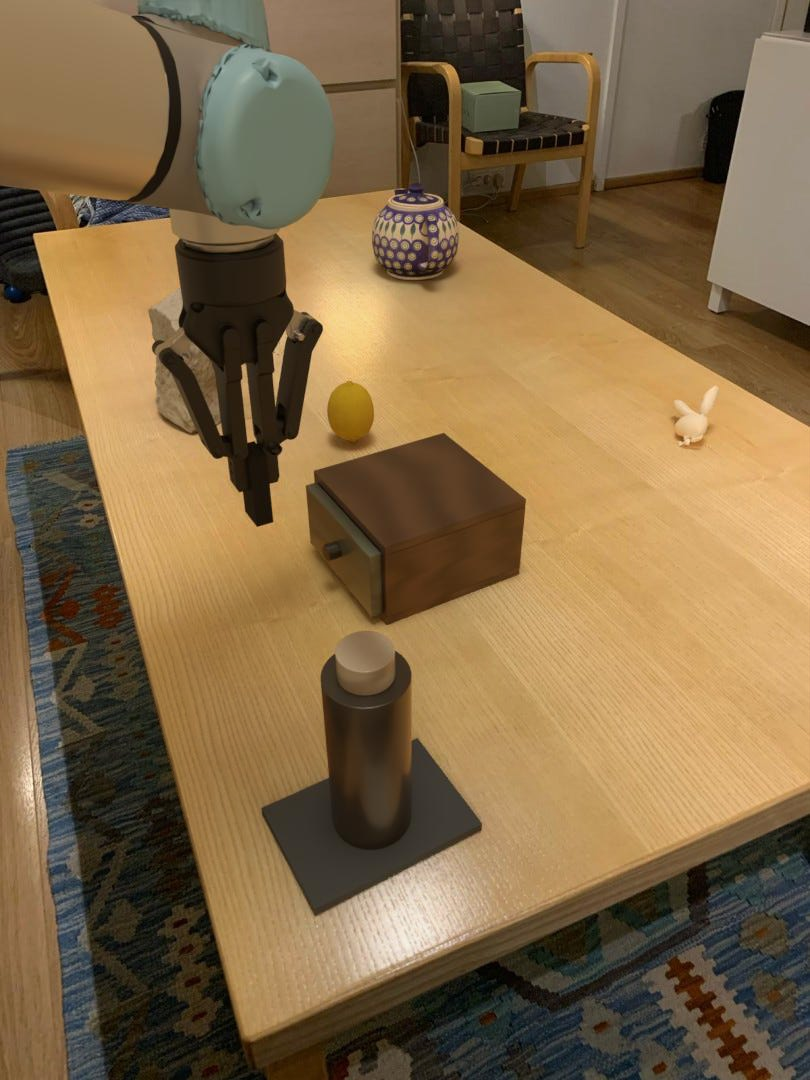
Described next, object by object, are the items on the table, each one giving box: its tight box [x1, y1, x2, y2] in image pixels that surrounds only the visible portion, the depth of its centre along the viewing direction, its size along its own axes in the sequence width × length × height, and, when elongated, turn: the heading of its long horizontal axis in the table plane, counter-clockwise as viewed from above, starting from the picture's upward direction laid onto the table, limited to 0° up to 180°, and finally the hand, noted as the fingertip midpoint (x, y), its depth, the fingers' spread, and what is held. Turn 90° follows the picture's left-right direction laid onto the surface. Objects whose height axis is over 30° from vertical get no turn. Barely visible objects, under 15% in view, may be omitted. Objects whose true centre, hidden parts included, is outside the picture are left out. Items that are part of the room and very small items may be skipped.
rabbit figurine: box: [672, 385, 719, 447], centre depth 106 cm, size 6×4×8 cm
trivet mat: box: [260, 737, 483, 916], centre depth 62 cm, size 13×9×1 cm
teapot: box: [371, 182, 460, 281], centre depth 150 cm, size 25×15×15 cm, turn 11°
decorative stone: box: [147, 287, 221, 434], centre depth 108 cm, size 10×9×15 cm
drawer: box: [305, 482, 383, 618], centre depth 84 cm, size 15×13×7 cm
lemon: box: [326, 380, 375, 443], centre depth 104 cm, size 6×6×8 cm
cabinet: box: [313, 432, 527, 625], centre depth 85 cm, size 15×14×9 cm
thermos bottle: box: [320, 630, 413, 850], centre depth 57 cm, size 6×6×16 cm
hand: (259, 516), depth 75 cm, fingers closed
